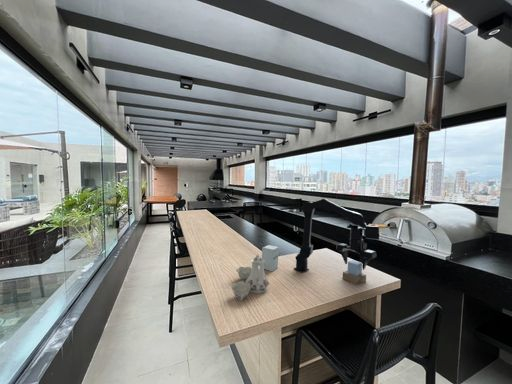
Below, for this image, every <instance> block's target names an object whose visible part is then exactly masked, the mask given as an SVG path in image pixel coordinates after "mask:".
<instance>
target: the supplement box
mask: <svg viewBox="0 0 512 384" xmlns="http://www.w3.org/2000/svg"><path fill="white" fill-rule="evenodd" d="M261 259H264V260H265V262H264V269H266V270H265V271H267V270H269V271H268V272H271V271H273V272H274V271H276V268H277V269H278V268H279V267H278V266H279V246H275V245H270V244H267V245H266V246H263V247H262V248H261Z"/></svg>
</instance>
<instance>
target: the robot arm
mask: <svg viewBox="0 0 512 384" xmlns="http://www.w3.org/2000/svg"><path fill="white" fill-rule="evenodd" d="M321 207H325V208H326V209H329V210H331V211H332V212H335V213H336V214H339V215H340V216H342V217H344V218H345V219H346V220H347V221H349V222H350V223H349V224H348V225H347V226H346V228H347V229H350V232H349V233H350V234H349V237H350V238H348V242H349V244H347V243H344V242H343V243H337V244H336V250H337V251H338V253H340V255H341V257H342V259H343V261H344V264H345V265H348V254H349V252H353V253H357V254H360V255H362V256H363V257H362V271H364V270H366V266H367V265H368V263H369V262H370V260H373V259H375V258H377V256H378V255H377V252H376V251H375V250H371V249H367V246H368V243H366V242H364V239H363V237H365V239H368V240H376V241H379V240H380V230H379V229H380V227H379V226H378V225H367V223H366V222H365V221H364V216H363V214H361V213H359V212H357V211H354V210H349V209H346V208H344V207H342V206H341V205H338V204H336V203H335V202H332V201H330V200H329V199H327V198H322V199H319V200H315V201H310V200H309V201H307V202H304V203H303V205H302V210H303V216H304V221H303V234H302V243H301V246H300V249H299V252H298V253H297V255H296V256H295V267H293V270H295V271H297V272H300V273H302V274H303V273H306V272H308V271H310V269H309V268H308V258H310V256H311V255H312V254H313V253H314V250H313V249H314V244H312V243H311V237H312V223H313V217H314V214H315V210H316V209H318V208H321Z"/></svg>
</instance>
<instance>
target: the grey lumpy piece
mask: <svg viewBox="0 0 512 384" xmlns="http://www.w3.org/2000/svg"><path fill="white" fill-rule="evenodd" d="M250 261H251V267H250V266H246V267H244V266H239V267H238V268H236V272H237V275H238V277H239V278H240V279H241V280H240V281H238V282H233V283H232V284H231V290H232V291H233V294H234V295H235V297H236V299H238V300H239V301H241V302H242V301H243V300H245V298H246V297H247V296H248V295H249V293H253V294H262V293H265V292H266V290H267V287H268V286H269V284H270V282H269V280H268V278H267V276H266V274H265V270H264V262H265V260H264V259H262V256H261V257H260V255H259V254H257V255H256V256H255V257H254V258H251V260H250Z"/></svg>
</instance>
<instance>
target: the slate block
mask: <svg viewBox="0 0 512 384" xmlns="http://www.w3.org/2000/svg"><path fill="white" fill-rule="evenodd" d="M362 265H363V262H361V261H358V260H355V259H351V260H349V261H347V271H348V273H349V274H352V275H354V276H359V275H361V274H362V272H363V268H362Z"/></svg>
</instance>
